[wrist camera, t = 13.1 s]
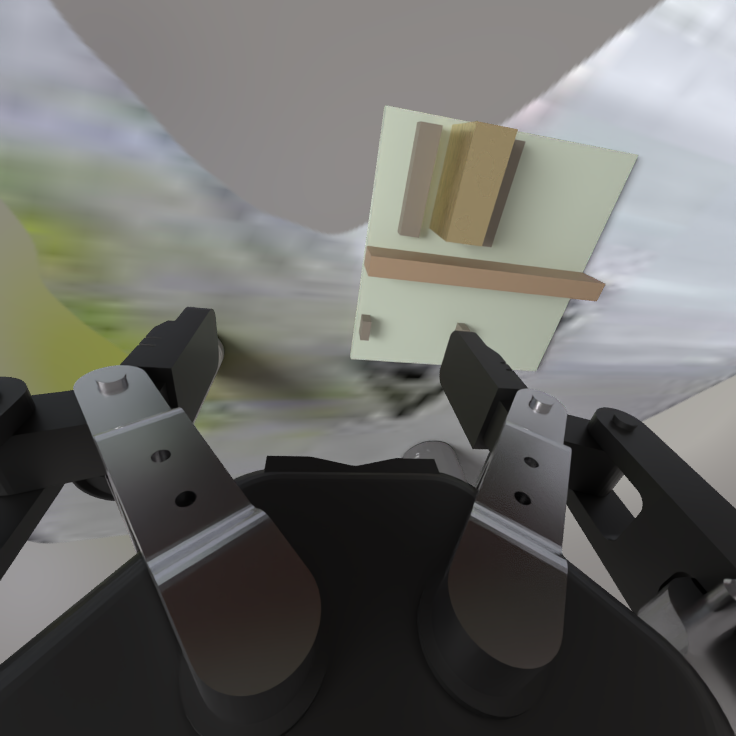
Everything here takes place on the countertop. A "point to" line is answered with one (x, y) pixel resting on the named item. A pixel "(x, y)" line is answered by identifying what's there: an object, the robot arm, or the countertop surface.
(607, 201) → the door board
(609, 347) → the countertop surface
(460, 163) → the bar
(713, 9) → the countertop surface
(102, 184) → the countertop surface
